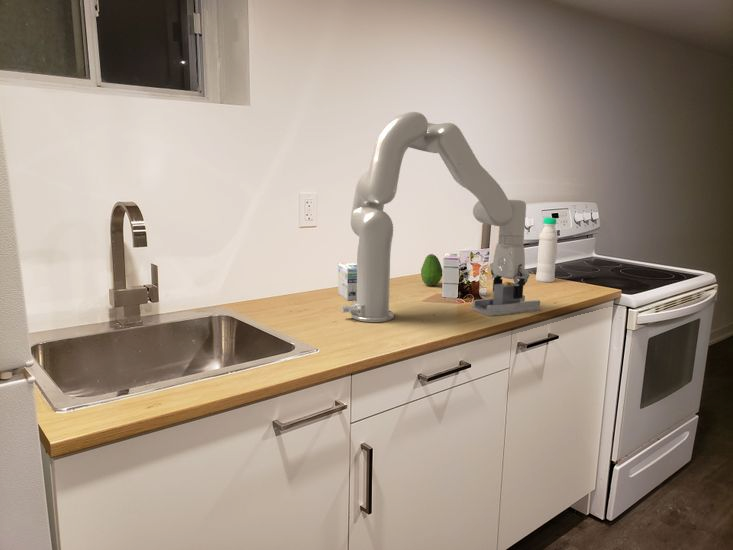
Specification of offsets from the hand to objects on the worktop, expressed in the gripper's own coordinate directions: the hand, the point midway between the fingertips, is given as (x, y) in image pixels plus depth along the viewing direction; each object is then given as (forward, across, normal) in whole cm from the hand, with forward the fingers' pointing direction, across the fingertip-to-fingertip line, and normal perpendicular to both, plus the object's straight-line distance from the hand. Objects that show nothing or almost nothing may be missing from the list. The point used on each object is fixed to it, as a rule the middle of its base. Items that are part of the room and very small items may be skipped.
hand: (507, 294), depth 175 cm
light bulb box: (+5, -34, -38) cm, 51 cm away
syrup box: (+5, -22, -6) cm, 23 cm away
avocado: (+5, -39, -3) cm, 39 cm away
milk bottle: (+5, -30, +45) cm, 54 cm away
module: (+4, 0, 0) cm, 4 cm away
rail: (+5, 0, 0) cm, 5 cm away
